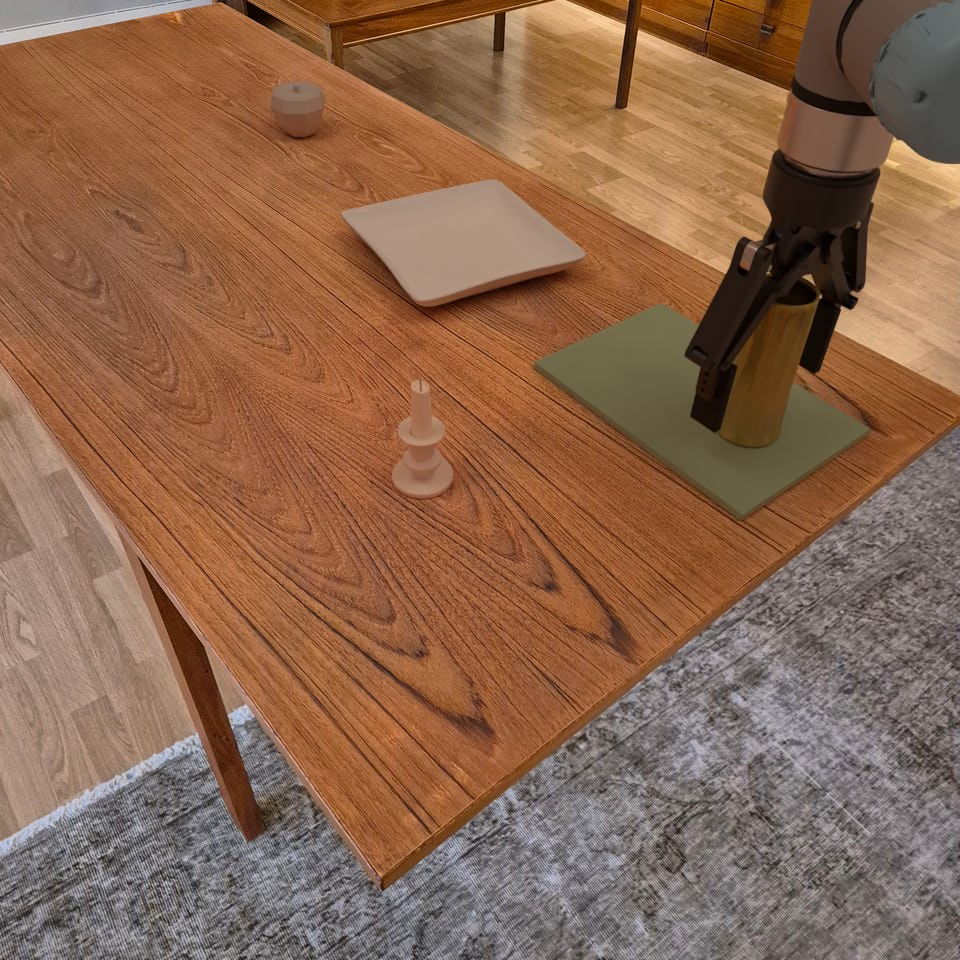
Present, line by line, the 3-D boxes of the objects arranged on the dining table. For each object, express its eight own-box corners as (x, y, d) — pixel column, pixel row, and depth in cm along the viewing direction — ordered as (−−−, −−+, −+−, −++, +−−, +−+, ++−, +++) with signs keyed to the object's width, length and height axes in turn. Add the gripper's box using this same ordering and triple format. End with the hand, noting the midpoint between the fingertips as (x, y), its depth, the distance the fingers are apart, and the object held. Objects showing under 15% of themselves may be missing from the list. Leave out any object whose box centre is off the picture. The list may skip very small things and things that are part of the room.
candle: (463, 467, 77) (464, 370, 70) (437, 506, 73) (435, 408, 66) (409, 450, 78) (404, 353, 71) (381, 488, 75) (373, 390, 67)
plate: (588, 279, 100) (592, 251, 97) (418, 328, 92) (417, 300, 89) (494, 200, 113) (495, 174, 110) (339, 237, 105) (336, 210, 103)
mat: (868, 435, 81) (871, 428, 81) (740, 521, 73) (742, 514, 72) (659, 308, 96) (661, 302, 95) (533, 368, 87) (534, 361, 87)
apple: (267, 125, 128) (260, 78, 123) (320, 118, 130) (315, 71, 126) (281, 147, 123) (275, 99, 118) (336, 139, 125) (332, 91, 121)
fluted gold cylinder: (742, 397, 84) (782, 261, 74) (794, 432, 80) (842, 294, 70) (697, 420, 81) (731, 283, 71) (748, 458, 77) (792, 318, 67)
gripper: (882, 101, 71) (808, 325, 86) (668, 183, 59) (625, 426, 74) (970, 132, 67) (876, 363, 81) (757, 227, 55) (693, 475, 70)
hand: (756, 393), depth 78 cm, fingers open, 13 cm apart
